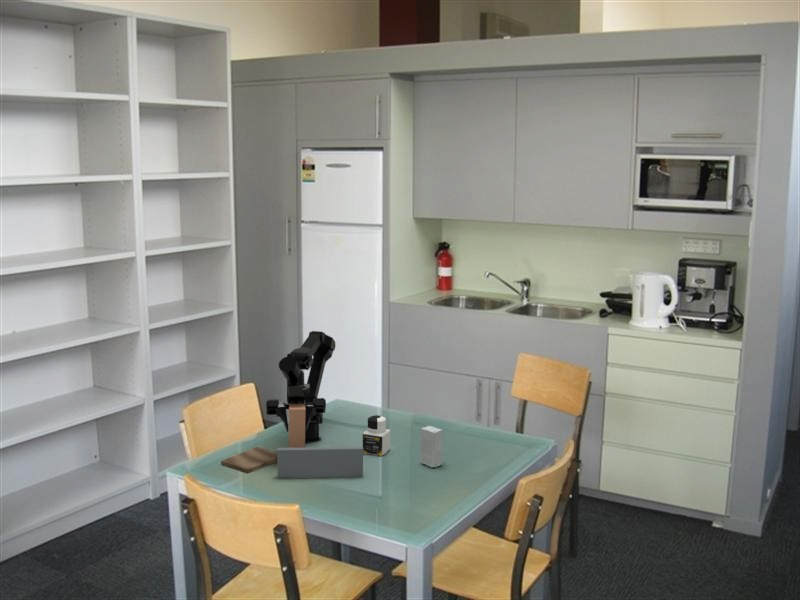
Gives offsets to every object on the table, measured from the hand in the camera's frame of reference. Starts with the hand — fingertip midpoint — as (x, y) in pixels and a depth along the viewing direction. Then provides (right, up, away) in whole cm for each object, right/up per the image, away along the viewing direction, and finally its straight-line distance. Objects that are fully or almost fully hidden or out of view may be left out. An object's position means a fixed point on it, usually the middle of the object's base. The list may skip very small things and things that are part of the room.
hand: (296, 430), depth 265 cm
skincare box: (+42, -12, +6) cm, 44 cm away
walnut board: (-15, -11, +6) cm, 19 cm away
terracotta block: (0, -6, +3) cm, 7 cm away
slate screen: (+8, -13, -3) cm, 15 cm away
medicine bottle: (+24, -10, +17) cm, 31 cm away
